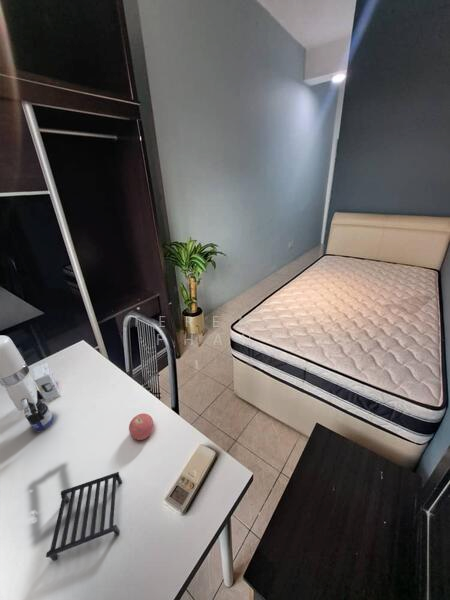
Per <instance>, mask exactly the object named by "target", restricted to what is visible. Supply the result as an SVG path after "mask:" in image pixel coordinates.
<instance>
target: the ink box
mask: <svg viewBox="0 0 450 600" xmlns="http://www.w3.org/2000/svg"><path fill="white" fill-rule="evenodd" d="M32 369H33V380H34V382H35V384H36V387H37V389H38V391H39V392H40V394H41V395H42V397H43V399H44V401H45V402H46V403H47V402H49V401H52V400H54V399H57V398H58V397H59V398H60V396H61V394H60V390H59V386H58V382H57V380H56V378H55V376H54V373H53V372H52V369H51V367H50V365H49V363H48V362H45V363H42V364H40V365H38V366H35V367H33V368H32Z"/></svg>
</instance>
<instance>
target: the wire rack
mask: <svg viewBox="0 0 450 600" xmlns="http://www.w3.org/2000/svg"><path fill="white" fill-rule="evenodd" d="M111 479H112V484H111V485H112V486H111V498H110V510H109V525H108V527H107V528H105V526H106V525H105V524H106V513H107V501H108V490H109V481H110V480H111ZM103 482H104V485H103V495H102V505H101V515H100V525H99V531H98V532H96V524H97V518H98V517H97V516H98V507H99V501H100V491H101V483H103ZM117 483H118V485H122V484H123V479H122V477H121V475H120V472H119V471H117V472H116V471H115V472H113V473H111V474H109V475H108V474H107V475H105V476H102V477H98V478H96V479H92V480H91V481H86V482H84V483H82V484H78V485H75V486H72V487H70V488H66V489H64V490H61V491H60V499H61V501H60V506H59V510H58V515H57V520H56V523H55V528H54V532H53V536H52V541H51V545H50V549H49V550H48V551H46V553H45V554H46V555H45V557H46V558H49V559H51V560H52V561H53V562H54V561H56V560H58V558H59V557H58V556H59V554H60V553H63V552H65V551H67V550H71V549H72V548H75V547H78V546H80V545H83V544H85V543H89V542H91V541H93V540H96V539H98V538H101V537H103V536H105V535H108V534H110V533H114V535H115V536H120V532H121V530H120V529H119V527H118V525H117V524H114V521H115V506H116V493H117ZM93 485H96V487H95V494H94V502H93V510H92V515H91V516H92V518H91V525H90V531H89V535H87V536H86V534H87V533H86V532H87V527H88V526H87V525H88V519H89V512H90V506H91V498H92V491H93ZM85 488H87V493H86V500H85V506H84V513H83V520H82V526H81V531H80V538H79V539H77V533H78V528H79V521H80V515H81V509H82V503H83V497H84V490H85ZM77 491H79V493H78V498H77V502H76V503H77V504H76V509H75V515H74V520H73V527H72V532H71V537H70V542H69V543H67V539H68V533H69V529H70V523H71V518H72V512H73V508H74V502H75V496H76V492H77ZM68 494H70V497H69V495H68ZM66 504H68V507H67V513H66V518H65V522H64V527H63V531H62V537H61V541H60V546H59V547H57V543H58V538H59V534H60V529H61V525H62V520H63V514H64V511H65V507H66Z"/></svg>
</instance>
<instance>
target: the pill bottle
mask: <svg viewBox="0 0 450 600" xmlns="http://www.w3.org/2000/svg"><path fill="white" fill-rule="evenodd" d="M31 404H33V403H29V405H31ZM36 407H37V409H38V410H40V412H41V413H42V415H43V416H44V419H43V420H41V421H39V422H36V423H34V424H32V422H31V421H30V420H29V418H28V417H27V416H26V415H25V414H24V415H25V418H26V420H27V421H28V423H29V425H30V426H31V428H32V429H33V431H34V432H36V433H39V432H43V431H45V430H47V429H49V428H50V427H51V426H52V425H53V424H54V422H55V416H54V415H53V413H52V411H51V410H50V407H48V405H47V404H46V403H45V402H43V401H42V400H40V399H37V403H36ZM30 409H31V410H34V408H33V406H31V407H30Z"/></svg>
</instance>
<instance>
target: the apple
mask: <svg viewBox="0 0 450 600" xmlns="http://www.w3.org/2000/svg"><path fill="white" fill-rule="evenodd" d="M153 429H154V419H153V417H152V416H151V415H150V414H148V413H139V414H136V415H135V416H134V417H133V418H132V419H131V421H130V422H129V425H128V431H129V434H130V436H131V437H132V438H133V439H134V440H138V441H143V440H145V439H148V437H150V436H151V434H152V432H153Z"/></svg>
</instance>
